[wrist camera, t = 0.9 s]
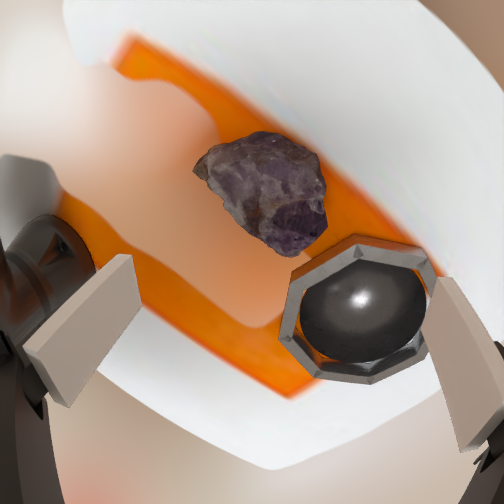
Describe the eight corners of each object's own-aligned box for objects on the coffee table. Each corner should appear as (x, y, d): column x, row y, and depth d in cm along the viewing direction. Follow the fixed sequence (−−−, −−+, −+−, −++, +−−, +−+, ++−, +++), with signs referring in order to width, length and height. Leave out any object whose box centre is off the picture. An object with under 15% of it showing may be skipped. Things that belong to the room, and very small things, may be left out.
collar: (273, 357, 40) (271, 370, 38) (300, 223, 31) (299, 233, 29) (403, 374, 38) (406, 387, 36) (461, 256, 29) (469, 266, 27)
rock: (278, 237, 34) (345, 173, 29) (277, 287, 27) (367, 209, 22) (191, 169, 30) (255, 92, 26) (163, 204, 23) (246, 100, 19)
